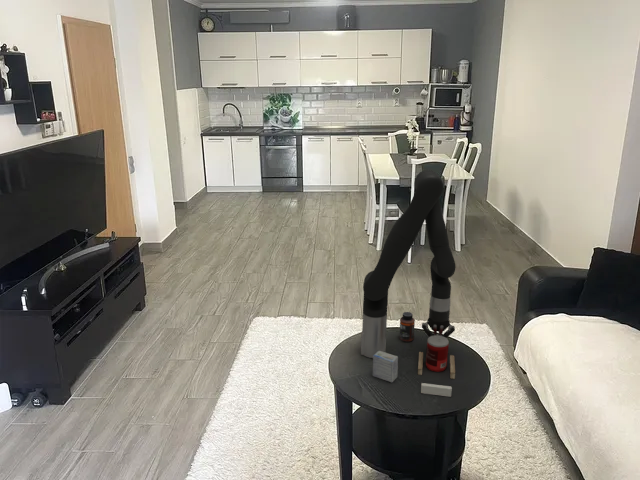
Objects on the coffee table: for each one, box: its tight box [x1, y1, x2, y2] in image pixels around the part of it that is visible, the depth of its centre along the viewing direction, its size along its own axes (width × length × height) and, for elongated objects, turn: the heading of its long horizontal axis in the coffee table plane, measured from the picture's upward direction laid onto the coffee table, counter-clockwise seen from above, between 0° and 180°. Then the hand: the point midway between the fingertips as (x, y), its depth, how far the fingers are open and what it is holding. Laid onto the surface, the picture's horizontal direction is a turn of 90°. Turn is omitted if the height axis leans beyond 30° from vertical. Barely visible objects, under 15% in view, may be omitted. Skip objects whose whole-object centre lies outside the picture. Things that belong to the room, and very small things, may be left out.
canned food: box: [425, 334, 450, 373], centre depth 188 cm, size 8×8×11 cm
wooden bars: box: [417, 351, 456, 380], centre depth 189 cm, size 13×12×2 cm
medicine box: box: [372, 351, 399, 383], centre depth 182 cm, size 8×4×9 cm, turn 56°
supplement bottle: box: [398, 311, 416, 342], centre depth 209 cm, size 6×6×11 cm
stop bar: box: [420, 382, 453, 398], centre depth 173 cm, size 10×2×3 cm, turn 78°
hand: (436, 347), depth 198 cm, fingers closed
